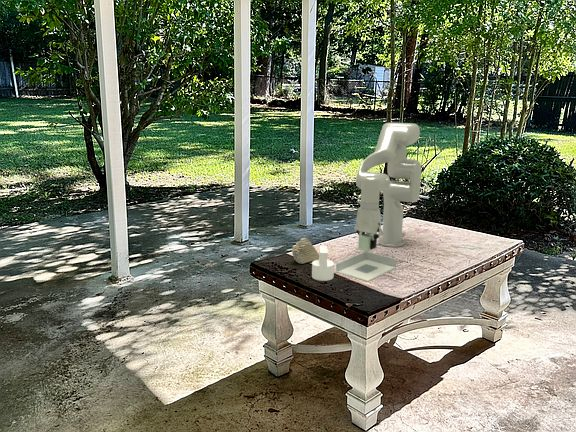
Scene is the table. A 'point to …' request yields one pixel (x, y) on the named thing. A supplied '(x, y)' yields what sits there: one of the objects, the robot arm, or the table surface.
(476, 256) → the table surface
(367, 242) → the block
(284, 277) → the table surface
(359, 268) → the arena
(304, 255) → the fossil tooth
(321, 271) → the white knob
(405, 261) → the table surface
